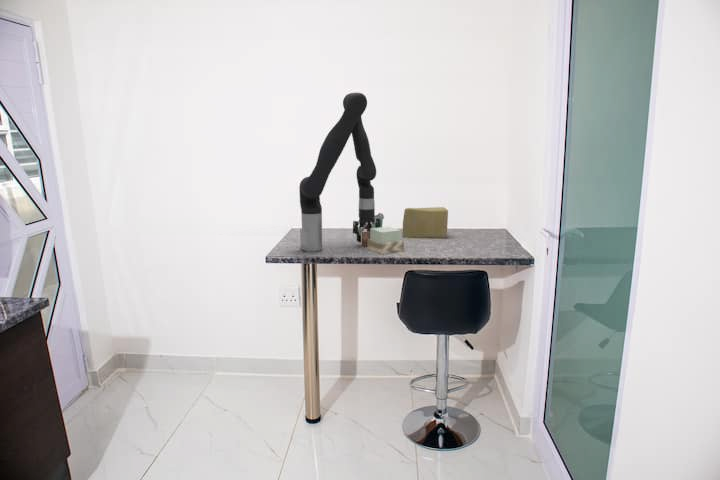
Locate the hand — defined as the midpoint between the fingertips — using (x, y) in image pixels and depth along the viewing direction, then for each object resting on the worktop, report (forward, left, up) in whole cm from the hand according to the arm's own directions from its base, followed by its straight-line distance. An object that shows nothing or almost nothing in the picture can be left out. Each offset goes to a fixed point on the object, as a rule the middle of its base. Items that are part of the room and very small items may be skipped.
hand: (366, 241), depth 243 cm
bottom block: (+2, -13, -2) cm, 13 cm away
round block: (0, 0, -2) cm, 2 cm away
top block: (+2, -13, +3) cm, 13 cm away
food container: (+19, +18, -2) cm, 26 cm away
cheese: (+34, -2, -2) cm, 34 cm away
